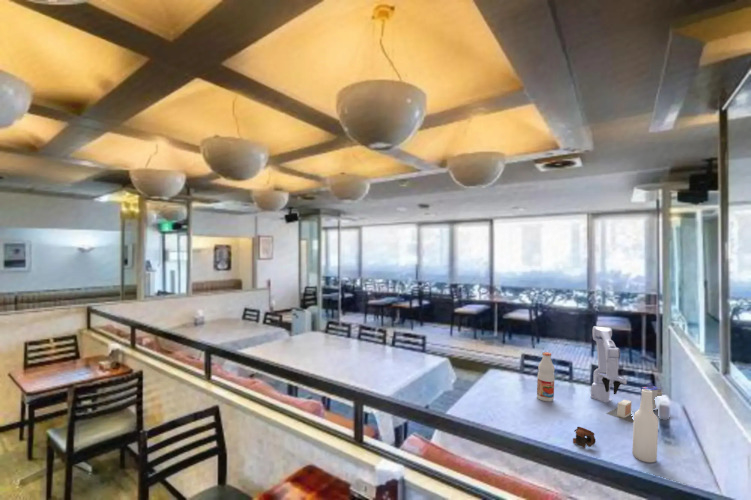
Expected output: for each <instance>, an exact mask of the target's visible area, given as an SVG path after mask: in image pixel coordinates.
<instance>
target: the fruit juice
mask: <svg viewBox="0 0 751 500" xmlns="http://www.w3.org/2000/svg"><path fill="white" fill-rule="evenodd" d="M541 356H542V358H541V360H540V362H539V363H538V364H537V365H538V366H537V367H538V368H537V369H538V373H537V378H536V379H537V380H536V381H537V384H536V397H537V399H538V400H540V401H542V402H547V403H548V402H550V403H551V402H553V401H554V399H555V365H554V364H553V361H552V353H551V352H547V351H544V352H542V354H541Z"/></svg>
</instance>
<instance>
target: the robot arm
mask: <svg viewBox="0 0 751 500" xmlns="http://www.w3.org/2000/svg"><path fill="white" fill-rule="evenodd" d="M591 332H592V339H593V341H595V343H596V350H597V351H596V352H597V365H598V366H597V367H598V368H596V369H595V370H594V371H593V376H592V377H593V383H592V384H591V389H590V398H591V399H595V400H598V401H600V402H603V403H609V402H611V401H612V400H613V399H612V398H610V395H611V394H610V393H611V387H612V386H613V395H617V392H618V391H619V387H620V386H621V385H622V384H623V385H627V383H628V382H627V381H628V380H626V379H624V378H622V377H618V376H619V360H620V359H621V349H620V348H619V347H617V346H616V344H615V342H614V340H612V336H613V329H612V328H611V327H610V326H609V327H607V326H605V327H604V326H596V325H594V326H593V327H592V331H591Z"/></svg>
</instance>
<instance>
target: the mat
mask: <svg viewBox="0 0 751 500" xmlns="http://www.w3.org/2000/svg"><path fill="white" fill-rule="evenodd" d="M617 410H618V406H617V407H615V408H613V409H612V410H609V411H608V412H606V414H607V415H609V416H612V417H615V418H618V419H621V420H624V421H627V422H628V423H629V422H630V423H632V424H634V420H633V419H632V417H633V416H631V415H632V414H630V415H629V416H627V417H625V418H623V417H620V416H617Z"/></svg>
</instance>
